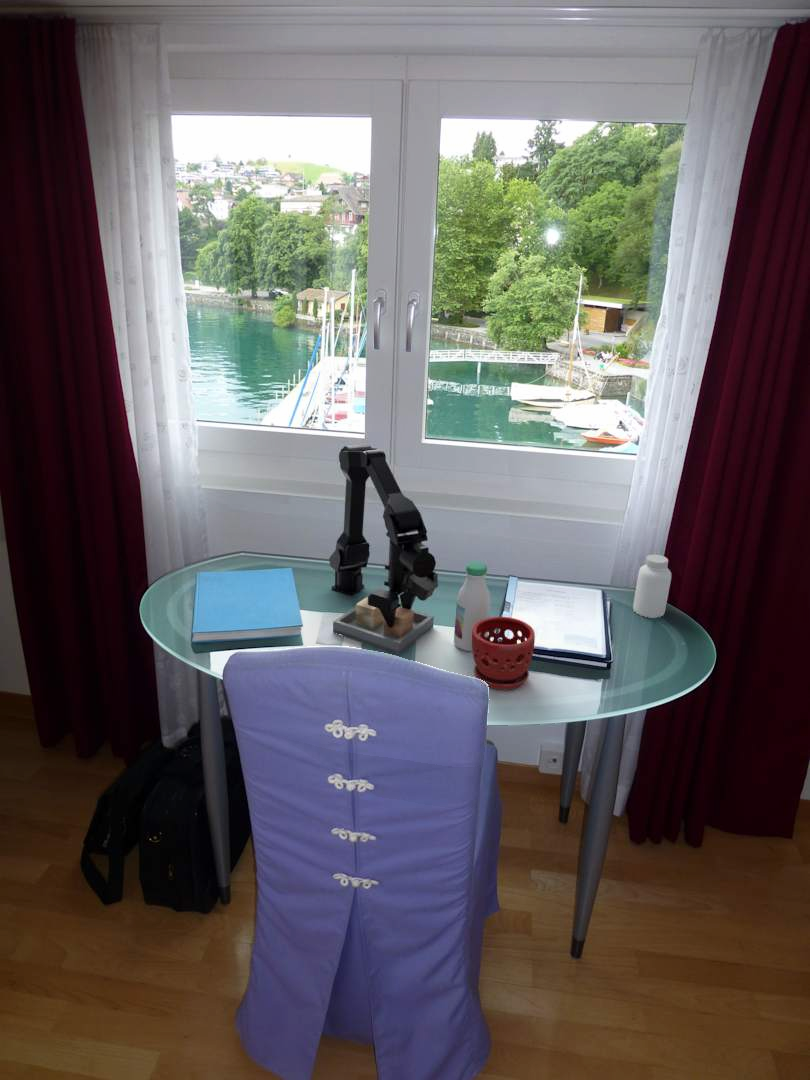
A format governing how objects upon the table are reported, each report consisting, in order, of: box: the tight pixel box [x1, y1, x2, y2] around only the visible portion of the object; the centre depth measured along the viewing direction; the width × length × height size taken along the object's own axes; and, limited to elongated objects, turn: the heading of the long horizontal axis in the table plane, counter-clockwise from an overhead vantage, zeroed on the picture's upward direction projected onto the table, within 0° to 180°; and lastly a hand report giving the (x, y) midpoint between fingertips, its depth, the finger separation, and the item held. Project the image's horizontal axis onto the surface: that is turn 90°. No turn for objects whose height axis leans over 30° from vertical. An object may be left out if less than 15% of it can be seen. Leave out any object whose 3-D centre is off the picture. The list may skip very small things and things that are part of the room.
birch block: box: [355, 596, 384, 629], centre depth 194 cm, size 5×5×5 cm
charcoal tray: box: [332, 605, 435, 656], centre depth 193 cm, size 18×16×3 cm
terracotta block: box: [384, 606, 415, 638], centre depth 190 cm, size 5×5×5 cm
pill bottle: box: [632, 554, 672, 619], centre depth 206 cm, size 8×8×15 cm
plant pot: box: [471, 616, 536, 690], centre depth 173 cm, size 13×13×12 cm
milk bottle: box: [453, 561, 491, 653], centre depth 185 cm, size 8×8×20 cm
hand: (398, 621), depth 190 cm, fingers open, 7 cm apart
